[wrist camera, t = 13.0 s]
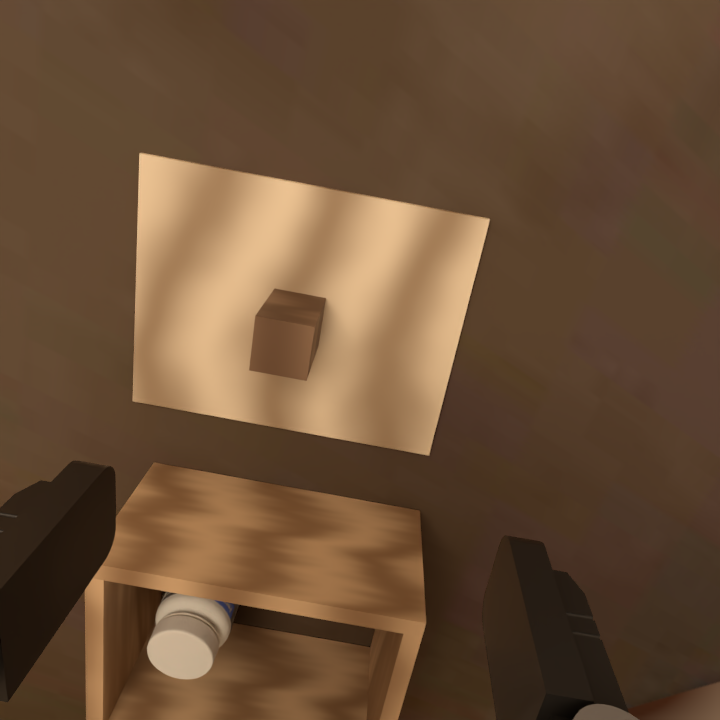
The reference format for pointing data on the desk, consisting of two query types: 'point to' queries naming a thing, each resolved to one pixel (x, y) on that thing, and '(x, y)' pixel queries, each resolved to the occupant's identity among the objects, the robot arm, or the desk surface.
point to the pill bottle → (189, 634)
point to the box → (256, 600)
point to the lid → (298, 303)
